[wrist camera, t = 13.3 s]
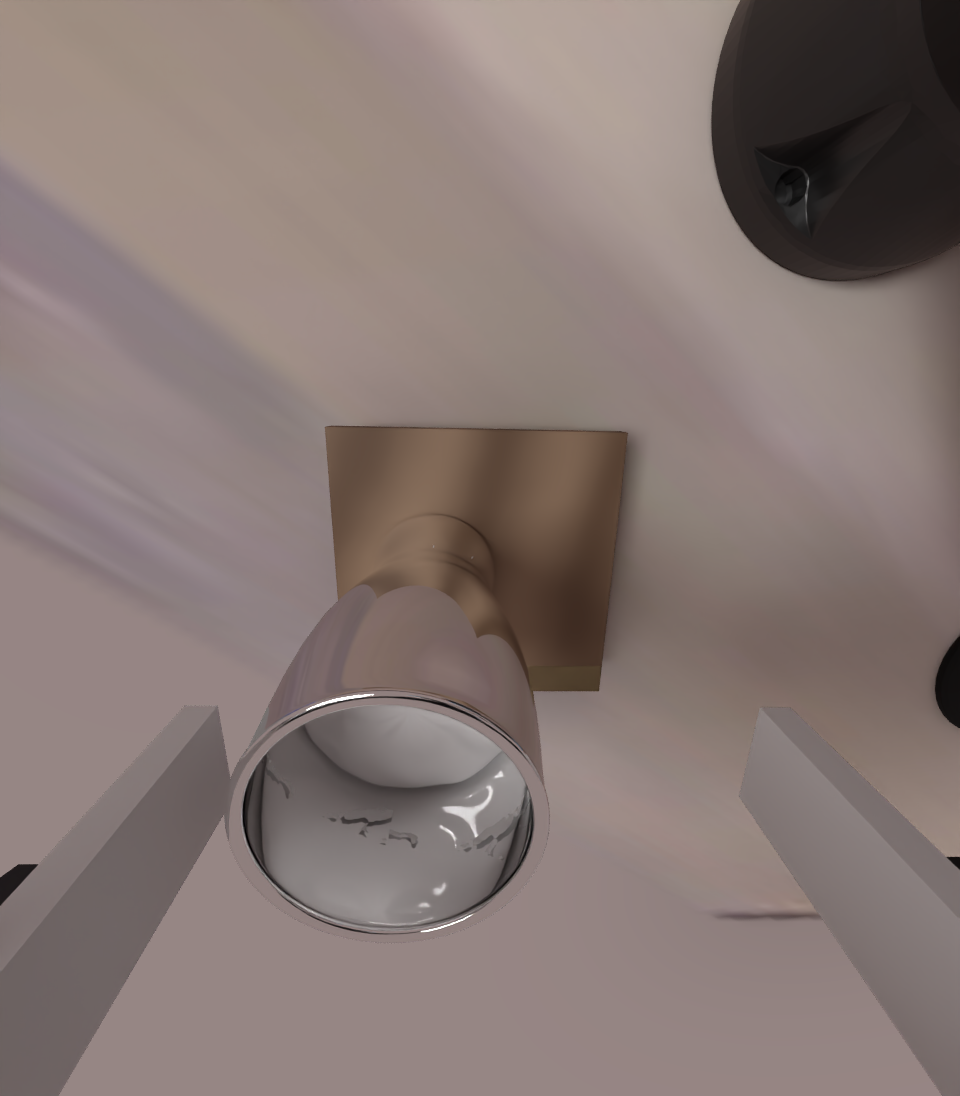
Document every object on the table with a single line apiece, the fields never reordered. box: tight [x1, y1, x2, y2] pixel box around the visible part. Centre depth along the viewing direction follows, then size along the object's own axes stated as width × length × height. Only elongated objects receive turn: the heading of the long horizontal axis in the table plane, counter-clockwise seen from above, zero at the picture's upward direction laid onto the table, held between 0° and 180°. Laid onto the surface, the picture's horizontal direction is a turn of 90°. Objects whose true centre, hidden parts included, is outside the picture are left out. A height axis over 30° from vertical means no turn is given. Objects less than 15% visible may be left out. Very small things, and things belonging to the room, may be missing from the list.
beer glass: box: [224, 515, 550, 943], centre depth 17 cm, size 7×7×15 cm
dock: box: [325, 426, 628, 691], centre depth 26 cm, size 14×14×4 cm
